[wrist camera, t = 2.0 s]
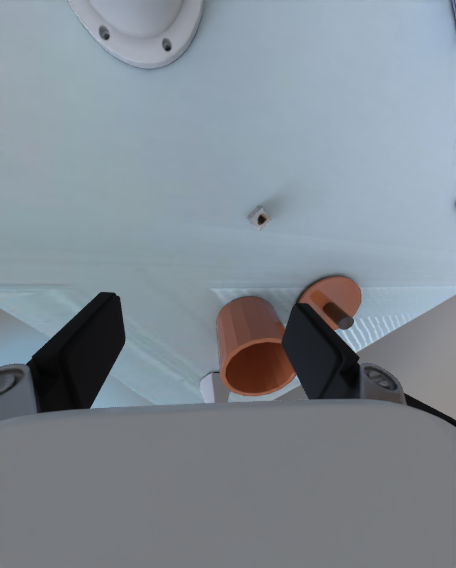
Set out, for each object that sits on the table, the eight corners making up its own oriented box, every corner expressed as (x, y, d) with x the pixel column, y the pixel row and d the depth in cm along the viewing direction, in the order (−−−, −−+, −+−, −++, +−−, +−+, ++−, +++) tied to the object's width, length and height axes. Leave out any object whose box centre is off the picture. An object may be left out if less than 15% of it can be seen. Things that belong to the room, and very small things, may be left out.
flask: (209, 367, 39) (210, 419, 30) (237, 376, 41) (246, 427, 32) (193, 388, 41) (190, 442, 32) (221, 395, 43) (225, 447, 34)
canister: (239, 285, 31) (254, 324, 22) (287, 313, 35) (318, 357, 25) (204, 331, 34) (204, 383, 25) (251, 352, 38) (267, 403, 29)
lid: (328, 261, 31) (353, 275, 26) (369, 294, 35) (397, 311, 30) (280, 314, 35) (294, 335, 30) (323, 338, 39) (341, 360, 34)
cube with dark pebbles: (267, 217, 26) (272, 219, 24) (256, 227, 27) (260, 231, 25) (257, 205, 26) (263, 206, 23) (246, 216, 26) (250, 219, 24)
